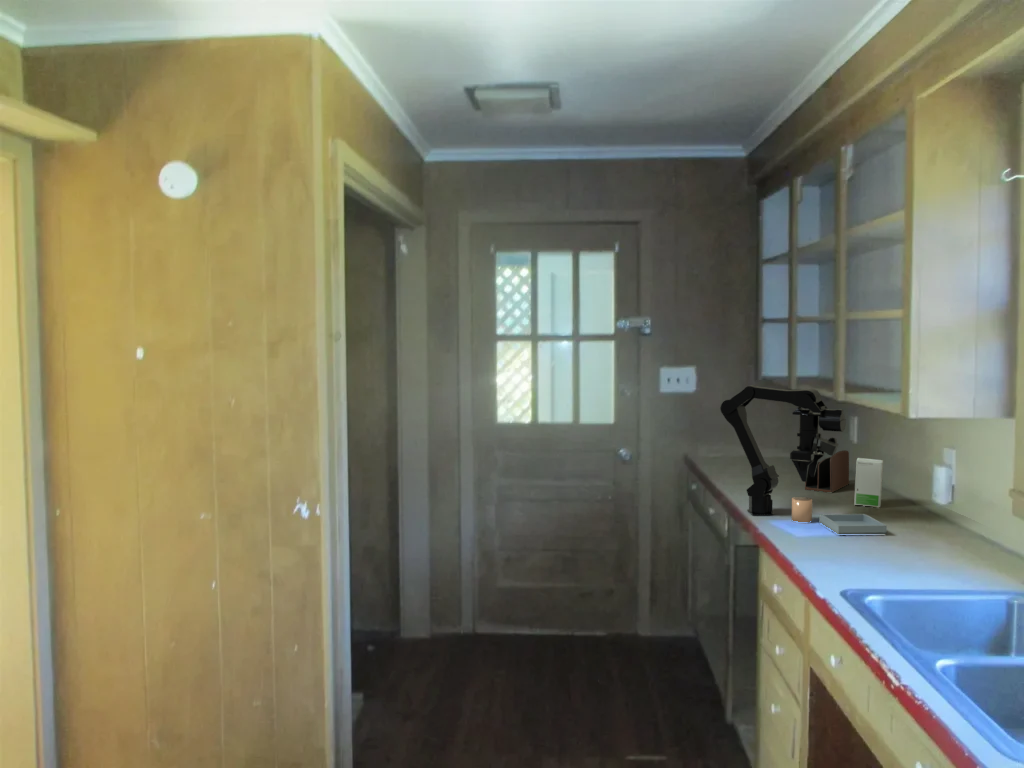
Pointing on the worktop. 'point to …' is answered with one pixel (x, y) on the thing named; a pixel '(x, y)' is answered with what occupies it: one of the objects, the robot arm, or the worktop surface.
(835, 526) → the tray
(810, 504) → the terracotta cup
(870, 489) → the skincare box
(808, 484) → the letter holder
